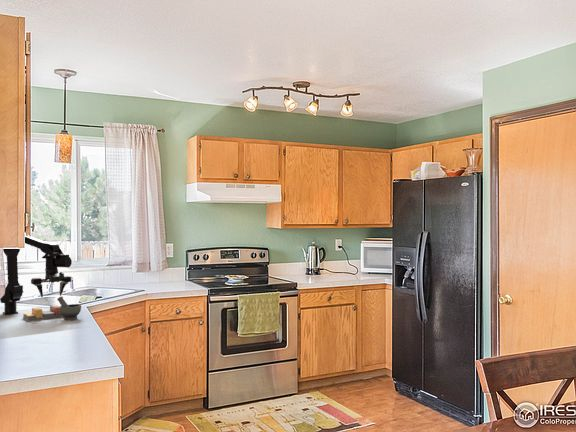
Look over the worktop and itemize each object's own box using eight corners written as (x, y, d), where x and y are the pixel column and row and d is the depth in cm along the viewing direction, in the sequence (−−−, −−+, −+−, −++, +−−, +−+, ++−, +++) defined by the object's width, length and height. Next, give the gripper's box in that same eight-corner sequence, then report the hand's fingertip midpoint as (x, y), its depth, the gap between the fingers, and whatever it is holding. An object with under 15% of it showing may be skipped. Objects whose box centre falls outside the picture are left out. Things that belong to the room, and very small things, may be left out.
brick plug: (50, 313, 270) (50, 305, 270) (55, 312, 272) (55, 305, 272) (56, 315, 263) (56, 307, 263) (62, 314, 265) (62, 307, 265)
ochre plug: (42, 317, 259) (42, 309, 259) (35, 318, 257) (35, 310, 257) (37, 314, 266) (37, 307, 266) (31, 315, 264) (31, 307, 264)
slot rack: (23, 318, 262) (23, 313, 262) (64, 313, 275) (64, 308, 275) (28, 321, 254) (28, 315, 254) (69, 316, 267) (69, 311, 267)
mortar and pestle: (79, 317, 265) (79, 293, 265) (82, 320, 257) (82, 296, 257) (56, 319, 259) (56, 295, 259) (58, 322, 251) (58, 298, 251)
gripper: (36, 269, 258) (36, 300, 258) (74, 267, 270) (74, 296, 270) (30, 267, 267) (30, 297, 267) (68, 265, 279) (67, 294, 278)
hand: (51, 296), depth 270 cm, fingers open, 9 cm apart
